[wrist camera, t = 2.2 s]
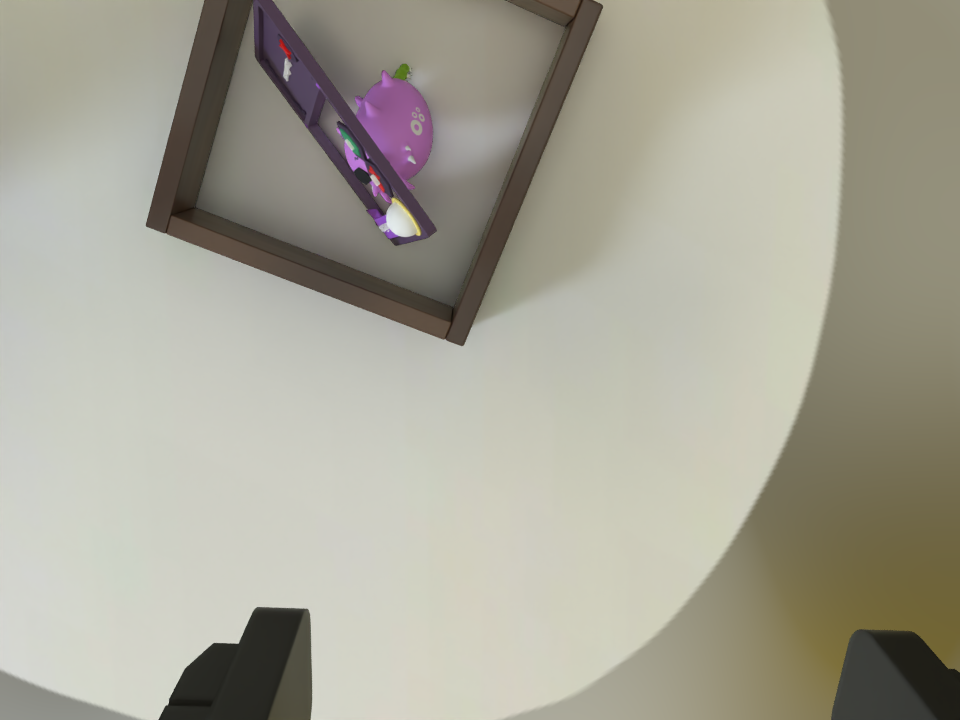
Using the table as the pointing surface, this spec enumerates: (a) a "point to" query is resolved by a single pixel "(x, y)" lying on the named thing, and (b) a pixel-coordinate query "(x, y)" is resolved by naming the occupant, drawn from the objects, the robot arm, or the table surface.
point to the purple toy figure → (356, 124)
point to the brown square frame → (179, 218)
